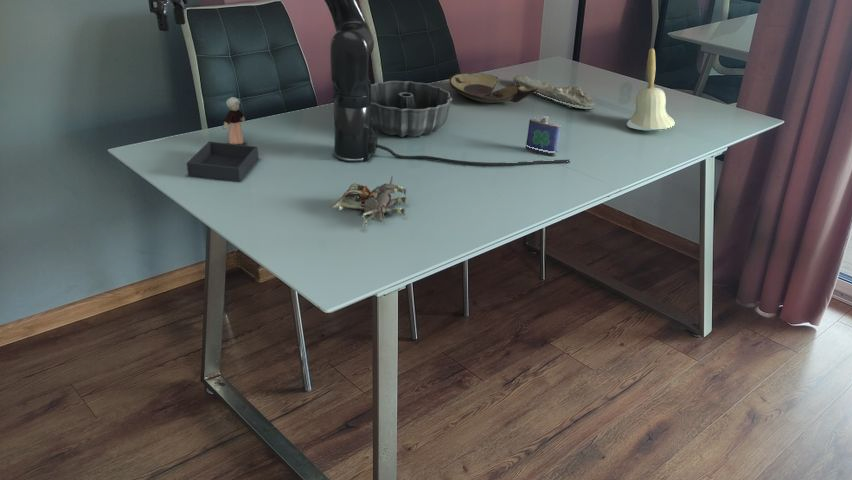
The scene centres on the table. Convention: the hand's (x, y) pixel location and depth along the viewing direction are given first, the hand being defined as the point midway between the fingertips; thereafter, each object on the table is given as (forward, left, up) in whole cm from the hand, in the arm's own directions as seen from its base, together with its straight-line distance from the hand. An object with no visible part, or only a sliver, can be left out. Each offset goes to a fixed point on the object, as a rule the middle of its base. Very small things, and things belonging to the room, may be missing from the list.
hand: (172, 27), depth 184 cm
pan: (-16, +16, -28) cm, 36 cm away
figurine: (-54, +31, -28) cm, 68 cm away
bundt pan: (-54, -25, -28) cm, 66 cm away
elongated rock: (-98, -69, -28) cm, 123 cm away
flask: (-94, -17, -28) cm, 99 cm away
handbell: (-129, -47, -28) cm, 140 cm away
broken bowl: (-77, -58, -28) cm, 100 cm away
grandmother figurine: (-14, +1, -28) cm, 31 cm away
